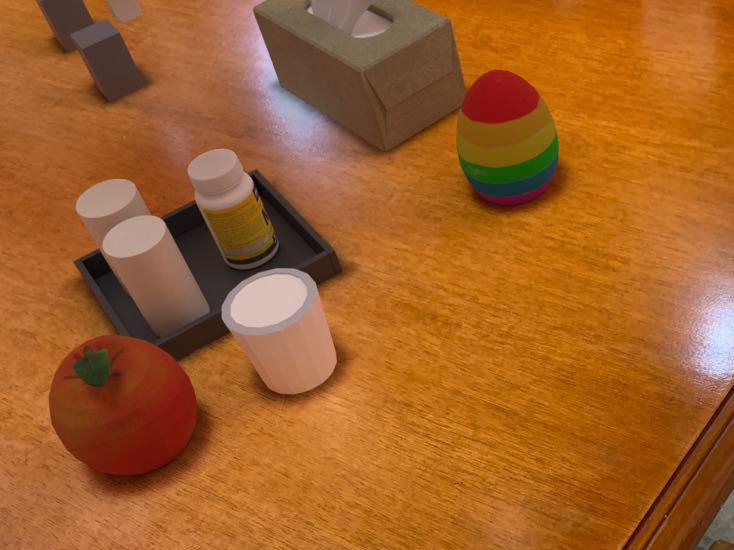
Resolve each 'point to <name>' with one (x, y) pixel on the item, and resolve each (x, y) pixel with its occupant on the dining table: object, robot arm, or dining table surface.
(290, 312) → the white cup
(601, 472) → the dining table surface
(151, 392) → the fruit
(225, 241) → the supplement bottle
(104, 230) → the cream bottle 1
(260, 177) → the tray
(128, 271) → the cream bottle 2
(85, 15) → the grey block left
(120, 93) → the grey block right
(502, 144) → the decorative egg
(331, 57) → the tissue box
